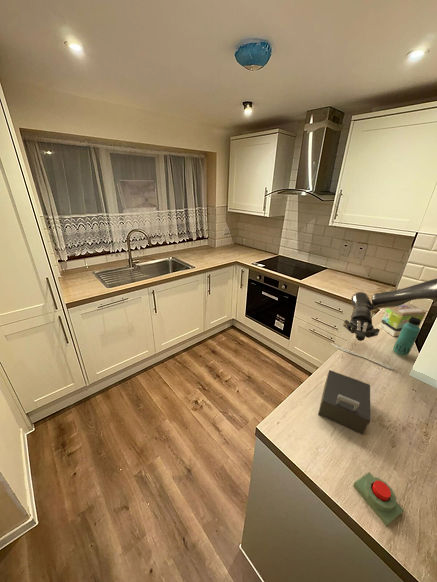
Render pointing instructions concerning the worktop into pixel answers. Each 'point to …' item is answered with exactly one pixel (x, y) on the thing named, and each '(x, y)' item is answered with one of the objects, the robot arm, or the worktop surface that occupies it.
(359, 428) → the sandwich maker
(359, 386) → the sandwich lid
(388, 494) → the button
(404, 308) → the tea box
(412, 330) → the beverage bottle
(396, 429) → the worktop surface
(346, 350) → the butter knife
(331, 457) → the worktop surface
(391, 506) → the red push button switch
